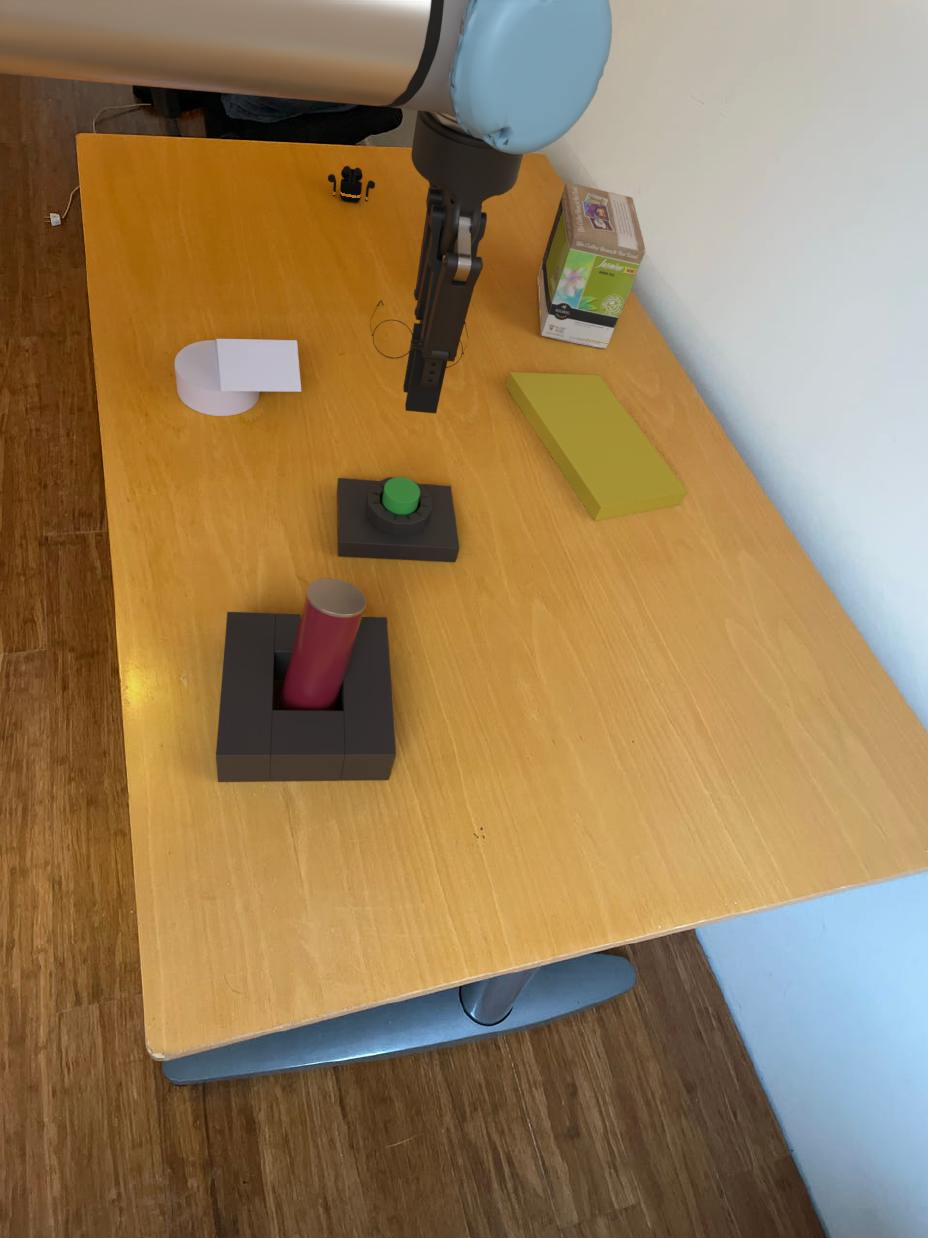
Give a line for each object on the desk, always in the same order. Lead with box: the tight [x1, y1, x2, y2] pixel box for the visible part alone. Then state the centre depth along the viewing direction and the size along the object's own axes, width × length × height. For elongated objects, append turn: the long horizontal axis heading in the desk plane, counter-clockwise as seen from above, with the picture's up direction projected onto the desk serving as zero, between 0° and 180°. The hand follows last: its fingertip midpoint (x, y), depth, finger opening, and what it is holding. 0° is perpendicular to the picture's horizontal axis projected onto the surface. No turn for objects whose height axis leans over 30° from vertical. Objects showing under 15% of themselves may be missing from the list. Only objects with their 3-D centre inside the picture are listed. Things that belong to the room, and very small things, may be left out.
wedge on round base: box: [174, 338, 302, 417], centre depth 90 cm, size 9×7×13 cm
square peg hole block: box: [215, 611, 397, 783], centre depth 68 cm, size 14×14×4 cm
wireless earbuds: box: [327, 165, 376, 204], centre depth 122 cm, size 7×2×5 cm, turn 95°
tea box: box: [536, 182, 646, 349], centre depth 111 cm, size 15×10×15 cm, turn 179°
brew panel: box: [335, 476, 460, 563], centre depth 83 cm, size 12×9×4 cm
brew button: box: [382, 476, 420, 515], centre depth 81 cm, size 4×4×2 cm
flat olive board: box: [505, 371, 688, 522], centre depth 99 cm, size 12×2×24 cm
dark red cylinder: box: [277, 577, 367, 711], centre depth 66 cm, size 5×5×12 cm
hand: (419, 399), depth 72 cm, fingers closed
